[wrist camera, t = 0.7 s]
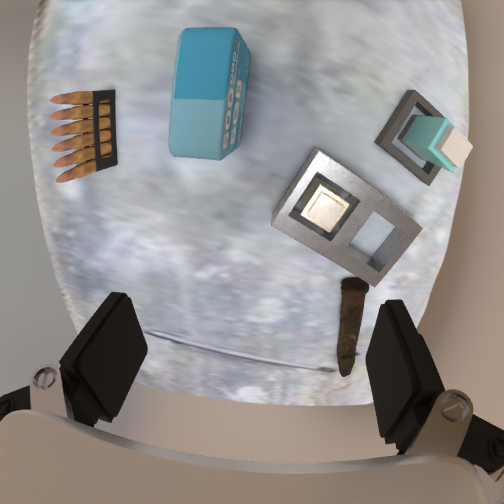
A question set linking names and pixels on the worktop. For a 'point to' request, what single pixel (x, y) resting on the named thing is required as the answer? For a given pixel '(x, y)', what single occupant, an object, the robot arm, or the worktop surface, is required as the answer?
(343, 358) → the hand tool
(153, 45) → the worktop surface
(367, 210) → the port
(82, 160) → the ammunition clip
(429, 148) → the plug
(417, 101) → the dark square frame
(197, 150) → the data package
